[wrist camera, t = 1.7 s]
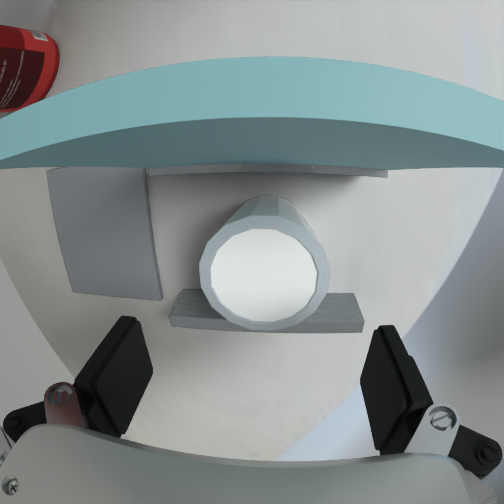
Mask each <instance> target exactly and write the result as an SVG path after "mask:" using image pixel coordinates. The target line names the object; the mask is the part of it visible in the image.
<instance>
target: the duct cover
mask: <svg viewBox="0 0 504 504" xmlns="http://www.w3.org/2000/svg"><path fill="white" fill-rule="evenodd" d="M211 164H307V165H330V166H347V167H361V168H373V169H384V170H398V169H418V168H451V167H496V168H504V101H501V100H499V99H496V98H494V97H491V96H489V95H486V94H484V93H481V92H478V91H475V90H473V89H470V88H467V87H464V86H461V85H458V84H455V83H451V82H448V81H445V80H441V79H438V78H434V77H430V76H426V75H422V74H418V73H414V72H410V71H405V70H401V69H396V68H390V67H385V66H379V65H373V64H367V63H360V62H352V61H344V60H334V59H322V58H306V57H240V58H224V59H213V60H203V61H194V62H186V63H179V64H173V65H167V66H161V67H155V68H150V69H145V70H140V71H135V72H131V73H127V74H122V75H118V76H114V77H111V78H107V79H103V80H100V81H96V82H93V83H89V84H86V85H83V86H80V87H77V88H74V89H71V90H68V91H65V92H62V93H59V94H57V95H54V96H51V97H49V98H46V99H44V100H41V101H39V102H36V103H34V104H31V105H29V106H27V107H25V108H22V109H20V110H18V111H16V112H14V113H12V114H9V115H7V116H5V117H3V118H1V119H0V169H9V168H29V167H127V168H157V167H171V166H188V165H211Z"/></svg>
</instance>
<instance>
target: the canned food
mask: <svg viewBox="0 0 504 504" xmlns="http://www.w3.org/2000/svg"><path fill="white" fill-rule="evenodd" d="M58 65H59V49H58V46H57V44H56V42H55V41H54V40H53V39H52V38H51V37H50V36H48V35H47V34H45V33H41V32H36V31H32V30H27V29H22V28H16V27H10V26H4V25H0V113H1V112H10V111H18V110H20V109H22V108H25V107H27V106H29V105H31V104H34V103H36V102H39V101H40V100H41V99H42V98H43V97H44V96H45V95H46V94H47V92H48V91H49V89H50V87H51V86H52V84H53V81H54V79H55V77H56V74H57V70H58Z"/></svg>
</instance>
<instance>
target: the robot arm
mask: <svg viewBox="0 0 504 504" xmlns="http://www.w3.org/2000/svg"><path fill="white" fill-rule="evenodd" d="M152 374H153V367H152V363H151V360H150V357H149V353H148V350H147V346H146V343H145V339H144V335H143V332H142V328H141V324H140V322H139V321H137V319H136V318H135V317H130V316H121V317H120V318H119V319H118V321H117V322H116V323H115V325H114V326H113V327H112V329H111V330H110V331H109V333H108V334H107V335H106V337H105V338H104V339H103V341H102V342H101V344H100V345H99V346H98V348H97V349H96V350H95V352H94V353H93V355H92V356H91V357H90V359H89V360H88V361H87V363H86V364H85V366H84V367H83V369H82V370H81V371H80V373H79V374H78V376H77V377H76V379H75V382H74V384H73V385H71V384H69V383H66V382H59V383H56V384H53V385H52V386H50V387H49V388H48V389H47V391H46V393H45V395H44V401H42V402H39V403H36V404H33V405H30V406H27V407H24V408H21V409H17V410H14V411H12V412H10V413H9V414H8V415H7V416H6V417H5V419H4V421H3V427H1V426H0V504H504V459H503V458H502V449H501V447H500V445H499V444H498V443H497V442H496V441H494V440H492V439H490V438H488V437H486V436H484V435H481V434H479V433H477V432H475V431H473V430H471V429H468V428H466V427H464V426H462V425H460V415H459V413H458V412H457V410H456V409H455V408H454V407H452V406H451V405H449V404H445V403H436V404H434V403H433V401H432V398H431V396H430V394H429V391H428V389H427V387H426V385H425V382H424V380H423V378H422V376H421V374H420V371H419V369H418V367H417V365H416V363H415V361H414V359H413V358H412V356H409V355H408V353H407V351H406V349H405V347H404V344H403V342H402V340H401V338H400V336H399V334H398V332H397V330H396V328H395V327H394V325H382V326H379V327H378V329H375V330H374V332H373V336H372V340H371V343H370V347H369V351H368V354H367V358H366V361H365V364H364V368H363V371H362V374H361V378H360V385H361V389H362V393H363V397H364V401H365V406H366V409H367V414H368V418H369V422H370V427H371V432H372V437H373V441H374V446H375V449H376V450H379V451H380V456H372V457H364V458H353V459H340V460H327V461H299V462H298V461H295V462H294V461H292V462H290V461H287V462H285V461H256V460H241V459H229V458H220V457H211V456H204V455H197V454H190V453H184V452H178V451H173V450H168V449H163V448H158V447H153V446H149V445H145V444H141V443H137V442H133V441H129V440H125V439H121V438H120V437H121V435H122V434H125V433H126V431H127V429H128V427H129V425H130V422H131V420H132V418H133V416H134V413H135V411H136V409H137V407H138V405H139V403H140V400H141V398H142V396H143V394H144V392H145V390H146V387H147V385H148V383H149V381H150V379H151V377H152Z"/></svg>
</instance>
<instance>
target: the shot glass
mask: <svg viewBox="0 0 504 504" xmlns="http://www.w3.org/2000/svg"><path fill="white" fill-rule="evenodd" d="M199 272H200V283H201V288H202V290H203V292H204V294H205V295H206V297H207V299H208V301H209V303H210V304H211V306H212V307H213V308H214V309H215V310H216V311H217V312H219V313H220V314H221V315H222V316H223V317H225V318H226V319H227V320H228V321H229V322H232V323H235V324H237V325H240V326H243V327H245V328H248V329H251V330H268V331H275V330H279V329H283V328H286V327H290V326H293V325H297V324H298V323H300V322H301V321H302V320H304V319H305V318H307V317H308V316H309V315H311V314H312V313H314V312H315V311H316V309H317V308H318V306H319V305H320V303H321V302H322V300H323V298H324V297H325V295H326V294H327V291H328V284H329V276H330V267H329V264H328V261H327V258H326V255H325V252H324V249H323V246H322V244H321V243H320V241H319V240H318V238H317V236H316V235H315V233H314V231H313V230H312V228H311V227H310V225H309V223H308V222H307V220H306V219H305V217H304V215H303V214H302V213H301V212H300V211H299V209H298V208H297V207H296V206H295V205H294V204H293V203H292V202H290V201H288V200H285V199H283V198H281V197H278V196H259V197H256V198H254V199H251V200H248V201H247V202H245V203H244V204H243V205H242V206H241V207H240V208H239V209H238V210H237V211H236V212H235V213H234V214H233V215H232V216H231V217H230V219H229V220H228V221H227V222H226V223H225V224H224V225H223V226H222V227H221V228H220V229H219V230H218V231H217V233H216V234H215V235H214V236H213V237H212V238H211V239H210V240H209V241H208V242H207V244H206V247H205V250H204V252H203V255H202V258H201V260H200V263H199Z"/></svg>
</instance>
